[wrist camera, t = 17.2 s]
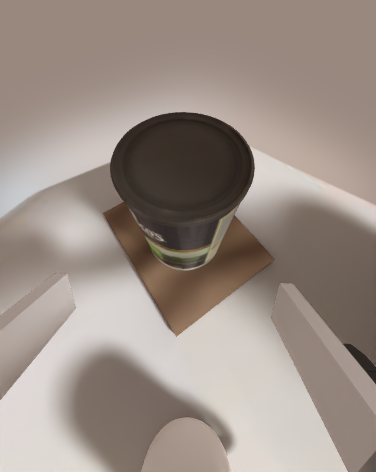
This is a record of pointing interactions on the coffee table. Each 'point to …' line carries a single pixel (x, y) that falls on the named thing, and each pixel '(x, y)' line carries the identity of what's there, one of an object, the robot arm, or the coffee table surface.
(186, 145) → the coffee can
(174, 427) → the cup
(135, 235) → the walnut board
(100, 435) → the coffee table surface
